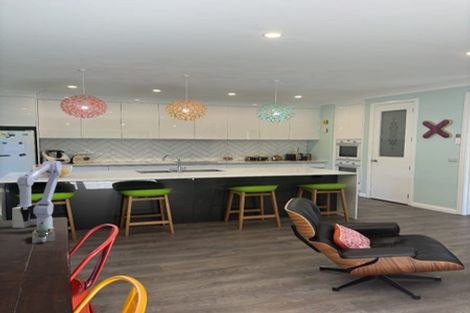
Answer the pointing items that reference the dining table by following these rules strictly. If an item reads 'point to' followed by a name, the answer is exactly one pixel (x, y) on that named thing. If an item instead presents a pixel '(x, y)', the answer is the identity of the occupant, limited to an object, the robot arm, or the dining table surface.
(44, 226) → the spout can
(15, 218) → the supplement box
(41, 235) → the gearbox
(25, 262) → the dining table surface
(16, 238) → the dining table surface
